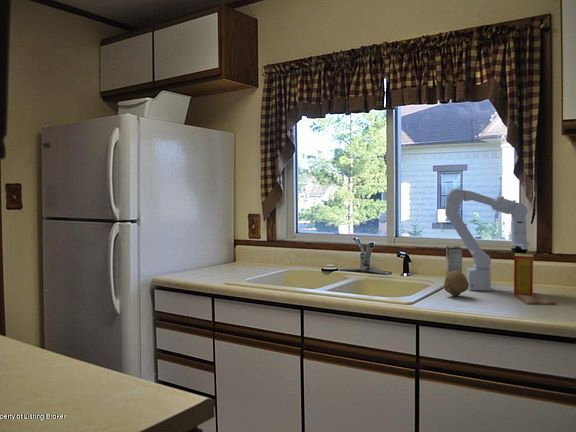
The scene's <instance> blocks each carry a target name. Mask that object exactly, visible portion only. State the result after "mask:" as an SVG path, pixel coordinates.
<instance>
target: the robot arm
mask: <svg viewBox="0 0 576 432" xmlns="http://www.w3.org/2000/svg"><path fill="white" fill-rule="evenodd" d="M470 201H474V202H476V203H480V204H484V205H488V206H490V207H491V209H492V210H493V211H496V212H498V213H503V214H506V215H510V216H511V217H510V218H511V221H510V226H511V227H510V234H511V236H510V237H511V239H510V240H511V243H510V245H511V248H510V250H511V252H512V254H513V257H514V256H515V253H525V254H527V252H528V249H529V246H528V245H530V244H531V242H528V241H527V240H528V239H527V238H528V235H527V214H528V212H529V210H528V208H527V206H526V205H525V204H523V203H521V202H517V200H514V199H513V200H511V199H508V198H507V199H506V198H505V196H501V195H500V196H496V197H494V198H492V197H490V196H487V195H483V194H480V193H477V192H474V191H471V190H466V189H465V190H463V189H462V190H461V189H459V188H454V189H451V190H450V191H448V193H447V195H446V198H445V216H446V217H447V219H448V220H449V222H450V224H451V225H452V227H453V228H454V230H455V231H456V233H457V234H458V236H459V237H460V238H461V241H462V242H463V243H464V245H465V246H466V248H467V249H468V252H469V253H470V254H471V256H472V261H473V263H474V264H473V265H472V267H469V268H467V269H466V275H465V277H466V279H467V281H468V283H469V287H468V289H467V290H469V291H484V292H485V291H494V288H492V287H491V286H492V281H491V279H492V268H491V267H492V266H490V265H491V263H492V260H491V259H492V258H491V256H489V255H488V253H486V252H485V251H483V249H482V248H481V246H480V245H479V243H478V241H476V239H475V238H474V236H473V234H472V233H471V231H470V230H469V229H468V227H467V226H466V225H467V224H465V222H464V220H463V219H462V217H461V216H460V215H459V209H460V206H461V204H462V203H463V202H470Z"/></svg>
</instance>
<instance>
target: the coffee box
mask: <svg viewBox="0 0 576 432" xmlns="http://www.w3.org/2000/svg"><path fill="white" fill-rule="evenodd" d="M445 249H446V250H445V274H446V275H445V277H446V276H447V275H448V273H450V272H452V271H460V272H461V273H463V248H462V246H460V245H446V246H445Z"/></svg>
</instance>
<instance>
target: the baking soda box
mask: <svg viewBox="0 0 576 432" xmlns="http://www.w3.org/2000/svg"><path fill="white" fill-rule="evenodd" d="M513 258H514V259H513V268H514V270H513V296H515V295H534V294H533V293H534V253H526V254H525V253H515V256H514V255H513Z"/></svg>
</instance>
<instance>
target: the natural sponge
mask: <svg viewBox="0 0 576 432" xmlns="http://www.w3.org/2000/svg"><path fill="white" fill-rule="evenodd" d="M468 287H469V283H468V281H467V279H466V275H465V274H464V273H463V272H462V273H461V272H460V271H452V272H450V273H448V275H447V276H446V275H445V280H444V283H443V288H444V290H445V292H446V293H448V294H450V295H451V296H452V297H458V296H460V295H461V294H463V293H464V292H466V291H467V290H469V289H468Z"/></svg>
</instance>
